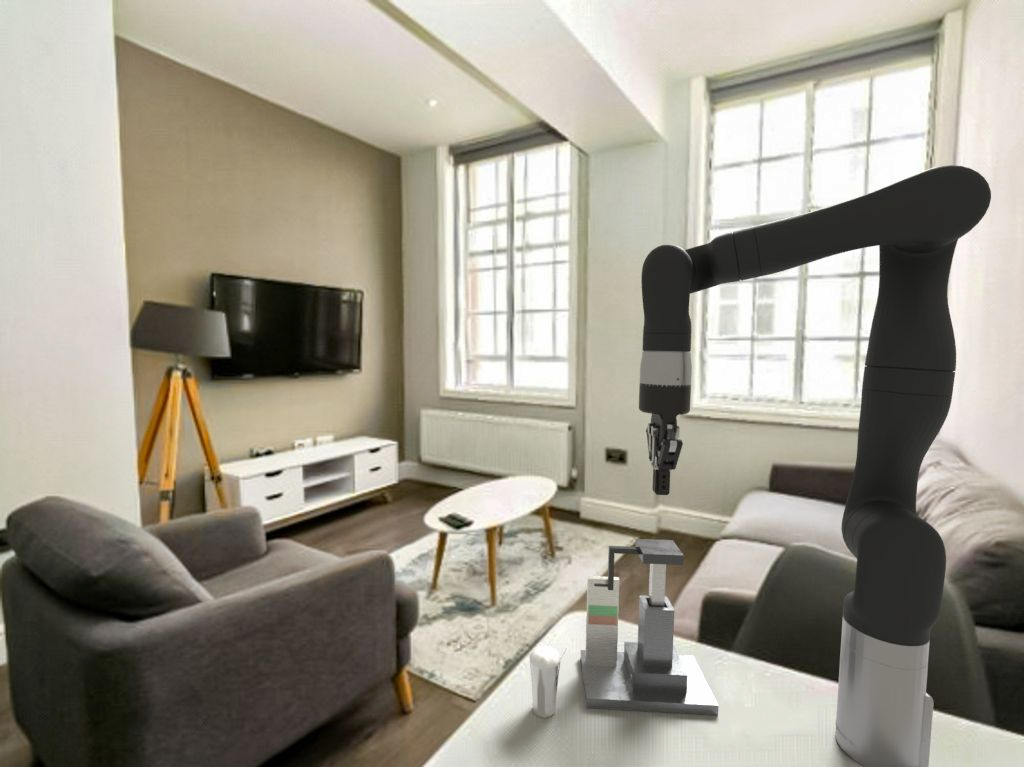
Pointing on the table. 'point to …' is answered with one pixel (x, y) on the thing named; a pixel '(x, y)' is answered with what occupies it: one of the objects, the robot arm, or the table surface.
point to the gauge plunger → (654, 555)
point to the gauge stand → (638, 660)
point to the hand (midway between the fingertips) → (660, 493)
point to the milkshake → (544, 679)
